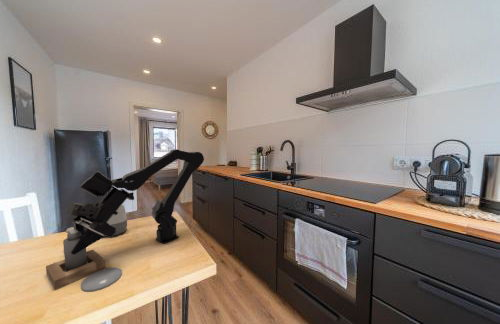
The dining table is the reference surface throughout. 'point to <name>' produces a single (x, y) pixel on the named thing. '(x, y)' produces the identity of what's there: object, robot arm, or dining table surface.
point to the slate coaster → (101, 279)
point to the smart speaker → (119, 221)
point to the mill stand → (74, 270)
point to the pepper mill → (71, 259)
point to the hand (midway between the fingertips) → (69, 251)
